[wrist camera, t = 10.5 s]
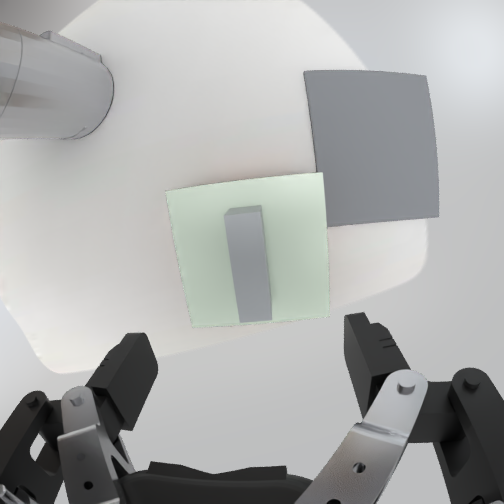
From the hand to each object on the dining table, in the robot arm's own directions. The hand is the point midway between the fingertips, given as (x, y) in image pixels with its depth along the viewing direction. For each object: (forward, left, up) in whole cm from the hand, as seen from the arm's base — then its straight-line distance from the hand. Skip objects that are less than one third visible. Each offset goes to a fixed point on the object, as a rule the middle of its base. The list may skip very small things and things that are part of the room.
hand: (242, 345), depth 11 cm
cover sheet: (+1, 0, -13) cm, 13 cm away
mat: (-8, +13, -18) cm, 24 cm away
